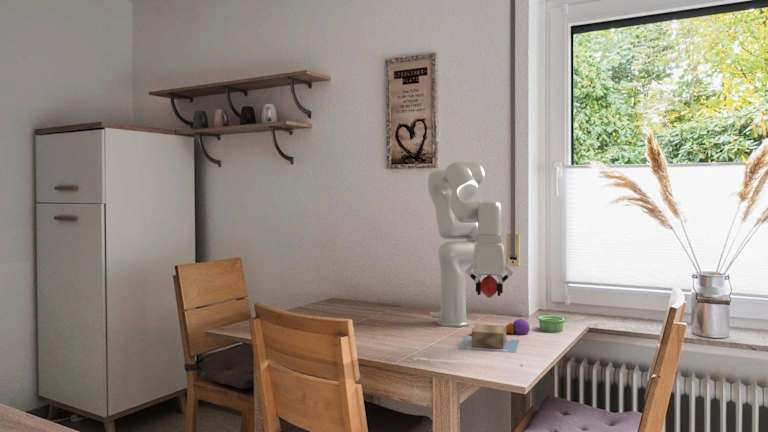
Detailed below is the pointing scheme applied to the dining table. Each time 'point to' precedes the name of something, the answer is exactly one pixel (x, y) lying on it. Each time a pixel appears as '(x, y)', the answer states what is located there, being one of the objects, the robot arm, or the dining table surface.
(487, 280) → the onion
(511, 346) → the blueprint mat
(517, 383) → the dining table surface
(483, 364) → the dining table surface
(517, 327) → the maraca
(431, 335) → the dining table surface
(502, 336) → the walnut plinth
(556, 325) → the ramekin
